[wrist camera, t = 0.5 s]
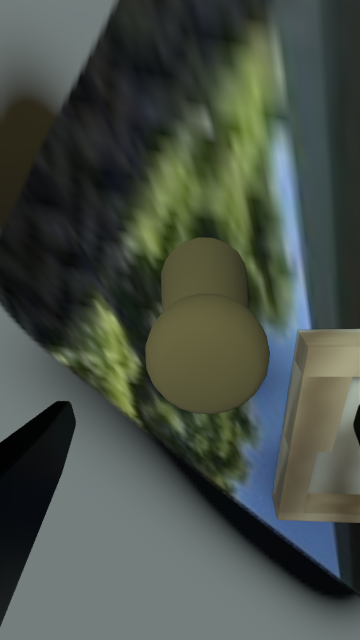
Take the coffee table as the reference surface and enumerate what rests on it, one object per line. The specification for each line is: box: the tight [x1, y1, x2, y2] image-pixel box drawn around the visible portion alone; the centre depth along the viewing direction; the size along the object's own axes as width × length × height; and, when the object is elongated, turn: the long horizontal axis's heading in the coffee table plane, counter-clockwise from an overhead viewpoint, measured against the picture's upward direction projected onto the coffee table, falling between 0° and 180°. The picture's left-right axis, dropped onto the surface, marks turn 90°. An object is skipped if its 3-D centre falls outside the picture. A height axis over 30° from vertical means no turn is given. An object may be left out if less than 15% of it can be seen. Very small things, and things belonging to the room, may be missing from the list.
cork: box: [146, 238, 270, 414], centre depth 16 cm, size 6×6×11 cm
